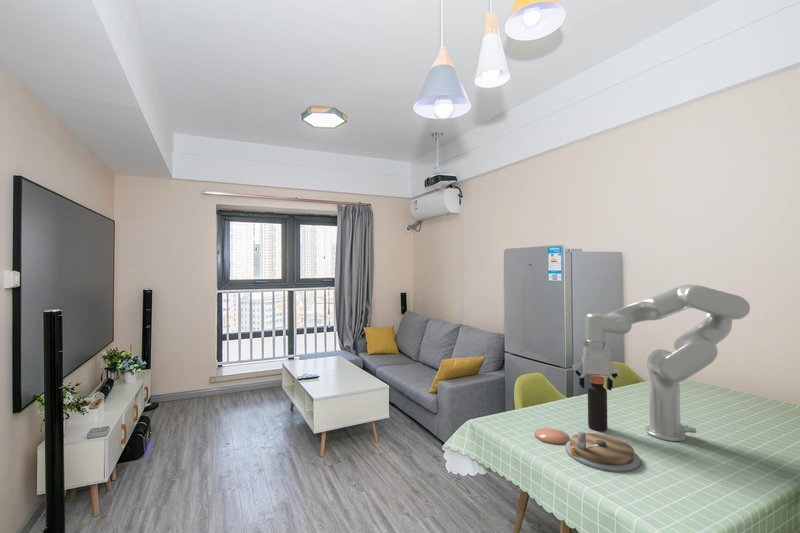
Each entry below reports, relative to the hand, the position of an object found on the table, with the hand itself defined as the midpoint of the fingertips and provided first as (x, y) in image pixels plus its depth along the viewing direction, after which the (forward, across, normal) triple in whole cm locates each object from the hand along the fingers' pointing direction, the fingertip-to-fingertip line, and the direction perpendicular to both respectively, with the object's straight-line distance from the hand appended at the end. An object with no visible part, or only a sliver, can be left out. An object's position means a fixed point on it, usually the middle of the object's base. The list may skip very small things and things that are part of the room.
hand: (595, 388), depth 150 cm
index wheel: (+14, -4, -24) cm, 28 cm away
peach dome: (+16, -18, -13) cm, 27 cm away
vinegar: (+16, +1, 0) cm, 16 cm away
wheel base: (+16, -4, -24) cm, 29 cm away
